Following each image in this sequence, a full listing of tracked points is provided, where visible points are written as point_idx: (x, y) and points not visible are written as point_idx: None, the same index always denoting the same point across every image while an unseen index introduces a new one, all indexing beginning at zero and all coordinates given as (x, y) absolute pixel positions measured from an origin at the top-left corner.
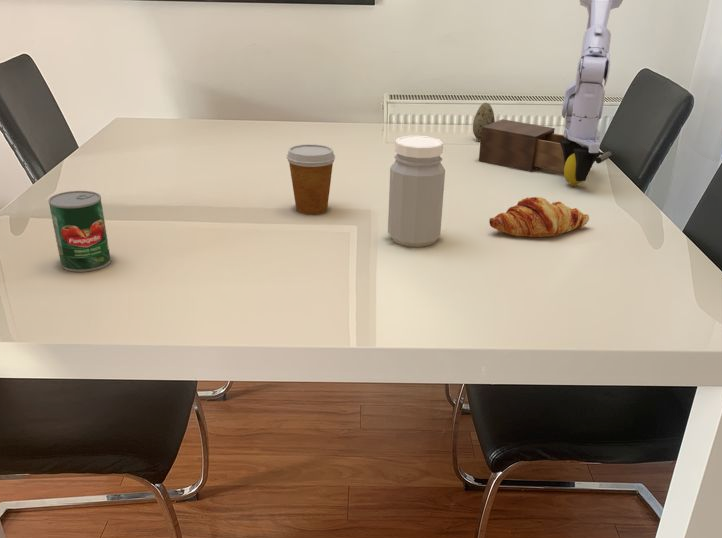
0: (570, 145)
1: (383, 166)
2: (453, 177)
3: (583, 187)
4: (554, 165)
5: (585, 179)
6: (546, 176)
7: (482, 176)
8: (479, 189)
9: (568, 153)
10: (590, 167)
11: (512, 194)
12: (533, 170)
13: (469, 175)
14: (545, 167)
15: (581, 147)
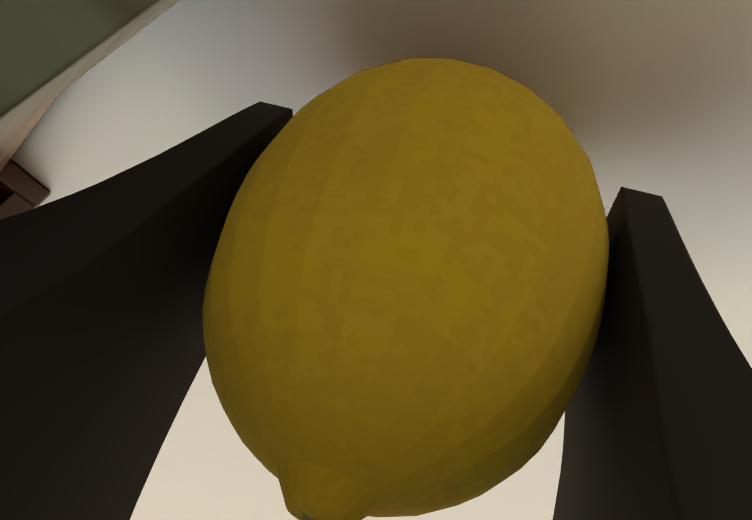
0: (79, 516)
1: (136, 510)
2: (229, 480)
3: (538, 27)
4: (17, 133)
5: (668, 214)
6: (142, 158)
7: (203, 418)
8: (396, 517)
9: (162, 398)
10: (746, 373)
11: (509, 498)
12: (12, 163)
13: (194, 438)
14: (14, 150)
15: (12, 361)
